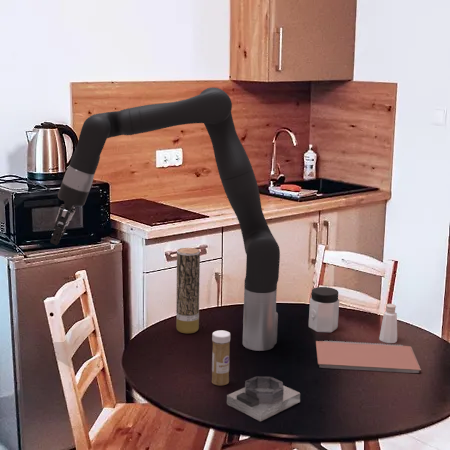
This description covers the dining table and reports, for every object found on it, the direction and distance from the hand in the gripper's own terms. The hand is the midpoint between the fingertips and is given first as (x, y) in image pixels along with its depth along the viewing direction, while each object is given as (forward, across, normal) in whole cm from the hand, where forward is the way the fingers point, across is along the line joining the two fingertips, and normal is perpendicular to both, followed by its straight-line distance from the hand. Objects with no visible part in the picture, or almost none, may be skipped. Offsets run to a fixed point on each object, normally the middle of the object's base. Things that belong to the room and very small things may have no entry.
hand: (56, 239), depth 192 cm
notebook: (0, -9, -92) cm, 92 cm away
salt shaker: (-5, +3, -101) cm, 101 cm away
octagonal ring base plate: (+10, -35, -61) cm, 71 cm away
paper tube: (+16, +12, -45) cm, 50 cm away
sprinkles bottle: (+14, -24, -52) cm, 59 cm away
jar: (+2, +13, -84) cm, 85 cm away
